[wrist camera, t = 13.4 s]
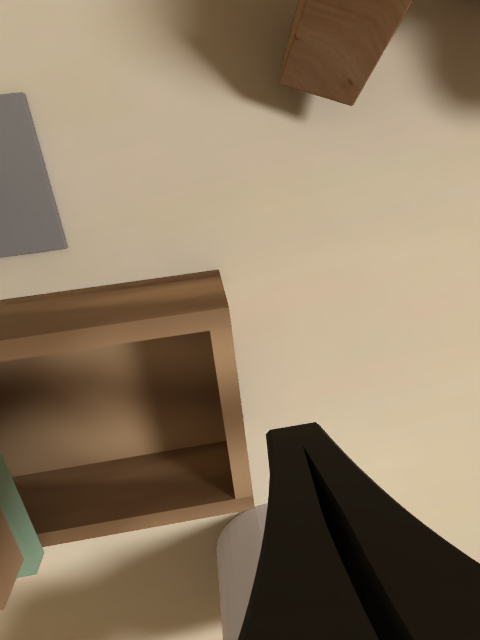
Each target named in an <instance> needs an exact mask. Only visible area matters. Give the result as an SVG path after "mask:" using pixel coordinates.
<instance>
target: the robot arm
mask: <svg viewBox="0 0 480 640" xmlns="http://www.w3.org/2000/svg"><path fill="white" fill-rule="evenodd" d="M266 439H267V449H268V459H269V469H270V482H269V497H268V504H264V505H260V506H256V507H254V508H255V509H251V510H246V511H244V512H242V513H241V514H239V515H237V516H236V517H235V518H233V519H232V520H231V521H230V522H229V523H228V524H227V525H226V526H225V528H224V529H223V530H222V532H221V534H220V536H219V537H218V541H217V545H216V552H217V566H218V580H219V593H220V607H221V620H222V634H223V640H480V563H478V562H476V561H475V560H473V559H472V558H470V557H469V556H467V555H466V554H464V553H463V552H462V551H460V550H459V549H457V548H456V547H455V546H453V545H452V544H450V543H449V542H447V541H446V540H445V539H443V538H442V537H441V536H439V535H438V534H437V533H435V532H434V531H433V530H431V529H430V528H429V527H427V526H426V525H425V524H423V523H422V522H421V521H419V520H418V519H417V518H416V517H414V516H413V515H412V514H411V513H410V512H408V511H407V510H406V509H405V508H403V507H402V506H401V505H400V504H399V503H398V502H396V501H395V500H394V499H393V498H392V497H391V496H389V495H388V494H387V493H386V492H385V491H384V490H383V489H382V488H380V487H379V486H378V485H377V484H376V483H375V482H374V481H373V480H372V479H371V478H370V477H369V476H368V475H367V474H365V473H364V472H363V471H362V470H361V469H360V468H359V467H358V466H357V465H356V464H355V463H354V462H353V461H352V460H351V459H350V458H349V457H348V456H347V455H346V454H345V453H344V452H343V451H342V450H341V449H340V448H339V446H338V445H337V444H336V443H335V442H334V441H333V440H332V439H331V438H330V437H329V436H328V434H327V433H326V432H325V431H324V430H323V429H322V428H321V426H320V425H319V424H317V423H316V422H314V423H308V424H302V425H296V426H291V427H285V428H279V429H273V430H269V432H268V433H267V434H266Z"/></svg>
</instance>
